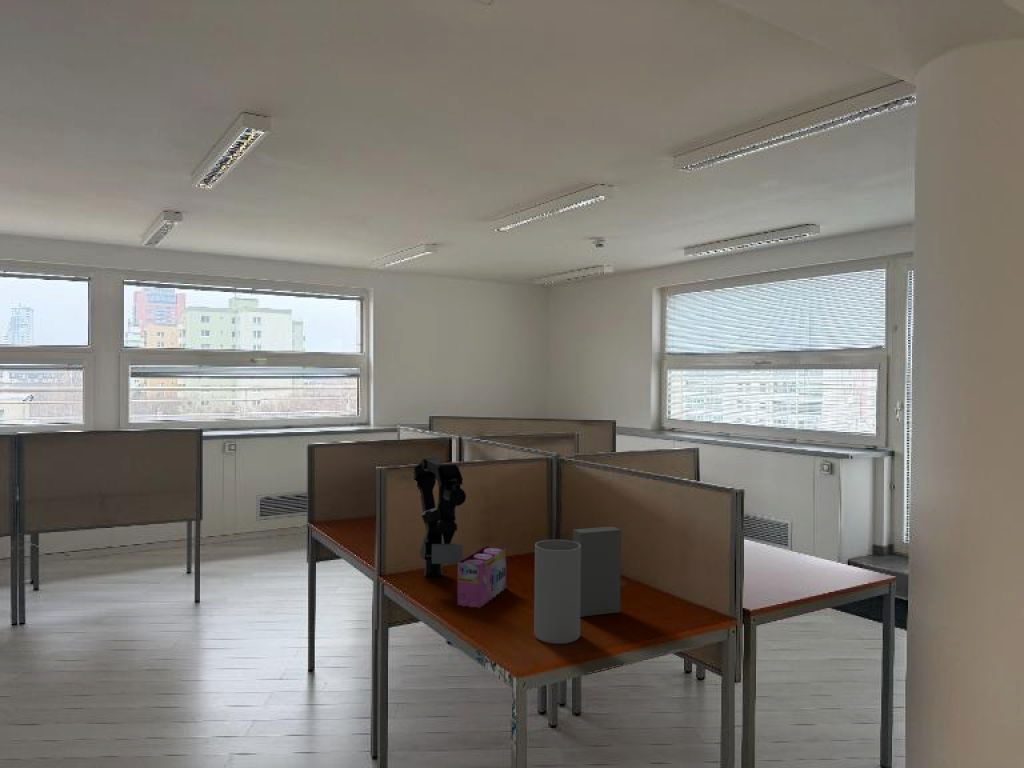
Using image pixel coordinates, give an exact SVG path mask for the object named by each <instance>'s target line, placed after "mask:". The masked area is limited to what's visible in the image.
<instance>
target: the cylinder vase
mask: <svg viewBox="0 0 1024 768" xmlns="http://www.w3.org/2000/svg"><path fill="white" fill-rule="evenodd" d="M580 598H581V545H580V544H579V543H577V542H573V540H566V539H546V540H540V541H537V542H535V544H534V600H533V601H534V609H533V610H534V611H533V612H534V613H533V615H534V617H533V621H534V625H533V628H534V629H533V630H534V631H533V634H534V636H535V638H536V639H537V640H539V641H540V642H542V643H543V642H544V643H546V644H554V645H564V644H571V643H574V642H575V641H577V640H578V639H579V638H580V636H581V618H580Z"/></svg>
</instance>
